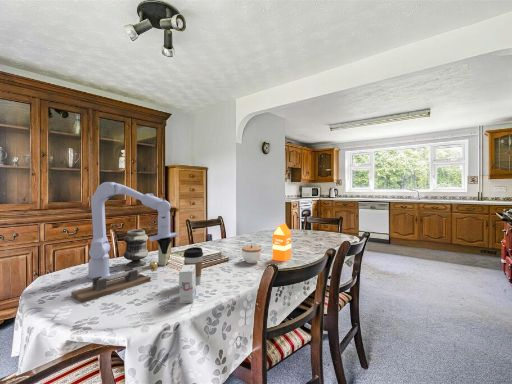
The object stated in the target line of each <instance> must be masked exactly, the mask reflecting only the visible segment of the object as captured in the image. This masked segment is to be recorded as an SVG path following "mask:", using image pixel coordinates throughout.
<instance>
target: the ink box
mask: <svg viewBox="0 0 512 384" xmlns="http://www.w3.org/2000/svg"><path fill="white" fill-rule="evenodd" d="M178 282H179V286H178V287H179V304H190V303H191V304H192V303H194V300H195V298H196V295H197V289H196V288H197V287H196V274H195V265H185V264H183V265H182V267H181V269H180V270H179V271H178Z"/></svg>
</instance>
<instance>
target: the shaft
mask: <svg viewBox="0 0 512 384" xmlns="http://www.w3.org/2000/svg"><path fill="white" fill-rule="evenodd" d="M158 266H159V265H158V262H157V261H150V263H149V265H144V266H140V267H138V268H137V267H136V268H132V269H133V270H129V271H126V272H125V271H121V272H119V273H114V274H112V275H110V276H107V277H103V278H99V279H98V280H100V279H104V278H105V279H106V282H108V281H112V280H116V279H119V278H123V277H125V276H129V272H130V271H134V270H138V273H139V274H141V273H143V272H145V271H151V272H155V271H158V268H159V267H158Z"/></svg>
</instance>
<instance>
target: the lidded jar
mask: <svg viewBox="0 0 512 384" xmlns="http://www.w3.org/2000/svg"><path fill="white" fill-rule="evenodd" d="M261 255H262V247H260V246H258V245H253V244H250V245H245V246H242V248H241V256H242V258H243V260H244V261H245V262H246V263H247V264H256V263H257V262H258V261H259V259H261Z"/></svg>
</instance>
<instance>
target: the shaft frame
mask: <svg viewBox="0 0 512 384" xmlns="http://www.w3.org/2000/svg"><path fill="white" fill-rule="evenodd" d="M133 269H134V268H133V267H129V268H126V269H124V272H126V271H129V270H133ZM99 278H102V277H101V276H99V277H95V278H92V279H91V280H92V285H91V286H87V287H84V288H83V287H82V288H80V289H77V290H73V291H71V297H73V298H74V299H76V300H77V301H78V302H80V303H82V304H83V303H86V302H90V301H92V300H95V299H98V298H99V299H100V298H102V297H105V296H108V295H111V294H114V293H117V292H121V291H125V290H127V289H130V288H133V287H137V286H140V285H142V284H146V283H149V282H151V277H150V276H146V275H145V274H141V273H138V270H134V271H130V272H129V276H125V277H122V278H118V279H115V280H111V281H107V282H106V279H105V278H104V279H100V280H98V279H99Z"/></svg>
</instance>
